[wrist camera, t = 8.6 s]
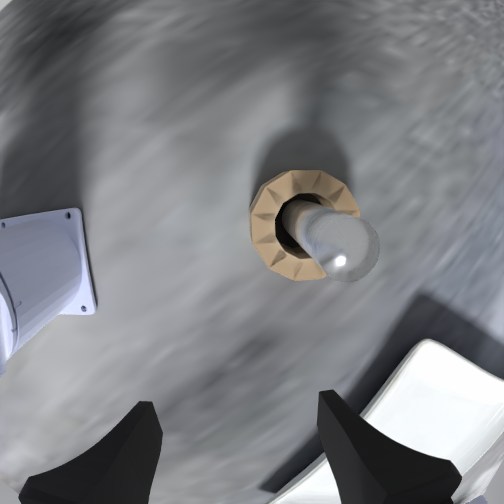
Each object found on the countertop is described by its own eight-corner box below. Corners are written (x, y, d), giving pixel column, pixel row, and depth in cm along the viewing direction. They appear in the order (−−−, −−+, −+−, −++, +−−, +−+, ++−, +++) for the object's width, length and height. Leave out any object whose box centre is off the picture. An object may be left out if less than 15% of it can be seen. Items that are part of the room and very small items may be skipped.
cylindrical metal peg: (283, 237, 21) (322, 288, 11) (277, 201, 20) (313, 223, 11) (317, 230, 21) (381, 274, 11) (312, 195, 20) (376, 212, 11)
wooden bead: (252, 269, 21) (254, 283, 18) (247, 173, 20) (249, 172, 17) (342, 263, 21) (357, 275, 19) (342, 170, 20) (359, 170, 17)
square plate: (403, 316, 23) (427, 337, 20) (519, 379, 27) (534, 393, 24) (251, 496, 28) (252, 520, 24) (401, 506, 32) (408, 522, 28)
